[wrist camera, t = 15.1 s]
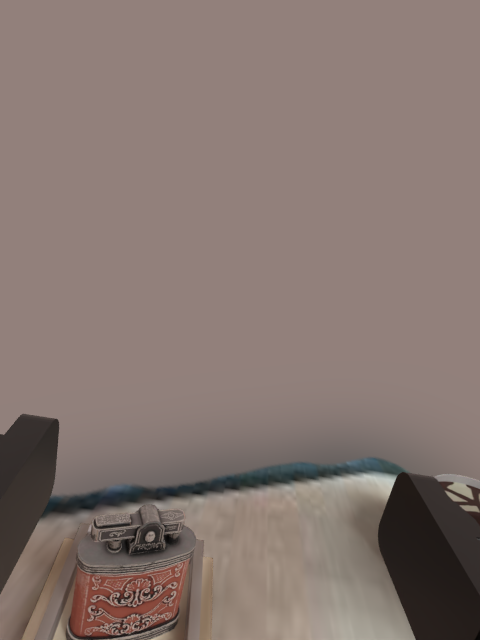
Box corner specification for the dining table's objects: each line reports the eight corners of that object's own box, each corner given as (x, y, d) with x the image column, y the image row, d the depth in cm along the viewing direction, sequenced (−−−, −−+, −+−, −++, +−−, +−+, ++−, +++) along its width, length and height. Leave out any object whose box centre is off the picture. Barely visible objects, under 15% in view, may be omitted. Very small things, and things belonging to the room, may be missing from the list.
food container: (493, 568, 48) (530, 491, 45) (518, 619, 42) (563, 535, 40) (379, 534, 49) (408, 457, 46) (387, 580, 44) (422, 495, 41)
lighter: (172, 593, 36) (195, 491, 33) (183, 634, 33) (209, 525, 30) (65, 612, 33) (79, 500, 30) (66, 659, 30) (82, 540, 27)
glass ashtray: (210, 566, 41) (217, 540, 40) (205, 758, 27) (215, 725, 26) (63, 546, 39) (67, 519, 38) (-17, 738, 26) (-15, 703, 25)
